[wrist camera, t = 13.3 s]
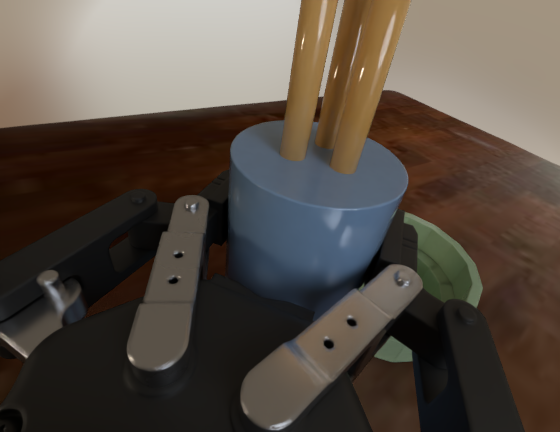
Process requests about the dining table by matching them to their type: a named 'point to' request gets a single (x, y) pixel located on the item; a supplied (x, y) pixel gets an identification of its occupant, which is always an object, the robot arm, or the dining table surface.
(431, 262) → the bowl
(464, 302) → the robot arm
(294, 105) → the breadstick jar
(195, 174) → the dining table surface
